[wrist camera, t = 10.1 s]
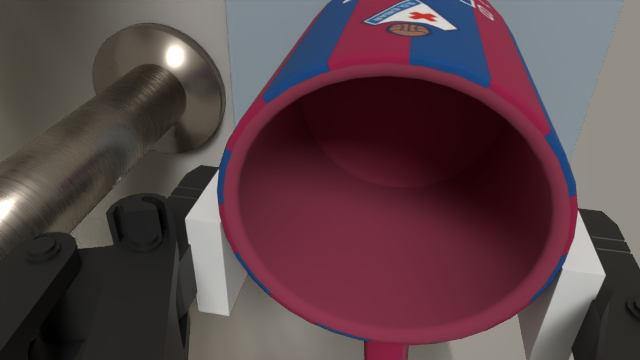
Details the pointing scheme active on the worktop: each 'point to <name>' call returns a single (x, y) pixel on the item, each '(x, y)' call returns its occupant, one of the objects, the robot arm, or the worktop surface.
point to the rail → (112, 130)
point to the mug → (400, 176)
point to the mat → (511, 3)
